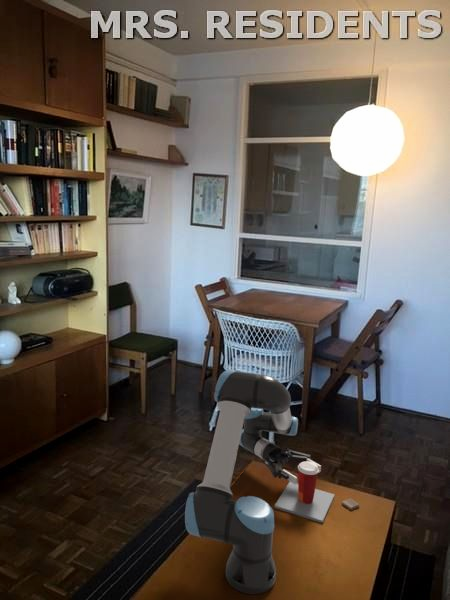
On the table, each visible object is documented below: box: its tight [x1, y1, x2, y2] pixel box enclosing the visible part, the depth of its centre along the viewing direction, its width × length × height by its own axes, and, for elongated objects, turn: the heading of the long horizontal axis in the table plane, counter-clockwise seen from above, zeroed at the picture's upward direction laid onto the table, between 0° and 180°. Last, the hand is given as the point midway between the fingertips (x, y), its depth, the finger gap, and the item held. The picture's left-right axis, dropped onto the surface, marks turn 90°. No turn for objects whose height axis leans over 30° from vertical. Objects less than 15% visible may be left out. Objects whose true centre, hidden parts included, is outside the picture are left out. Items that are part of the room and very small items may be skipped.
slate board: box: [273, 481, 335, 524], centre depth 184 cm, size 18×18×1 cm
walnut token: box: [341, 497, 360, 511], centre depth 184 cm, size 4×4×2 cm
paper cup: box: [297, 461, 319, 504], centre depth 183 cm, size 8×8×14 cm
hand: (308, 475), depth 183 cm, fingers open, 13 cm apart
